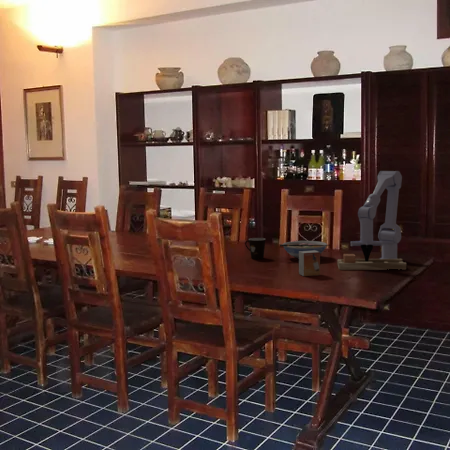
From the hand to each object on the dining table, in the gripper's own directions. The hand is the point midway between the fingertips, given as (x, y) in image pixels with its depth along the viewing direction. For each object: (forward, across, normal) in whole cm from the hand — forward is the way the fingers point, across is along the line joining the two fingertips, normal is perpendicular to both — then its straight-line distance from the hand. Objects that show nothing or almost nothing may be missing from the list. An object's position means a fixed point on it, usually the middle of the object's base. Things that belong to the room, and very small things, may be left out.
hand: (366, 261), depth 285 cm
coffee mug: (+3, -53, +27) cm, 60 cm away
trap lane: (+3, +2, 0) cm, 4 cm away
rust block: (+1, -8, 0) cm, 8 cm away
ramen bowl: (+3, -28, +25) cm, 38 cm away
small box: (+3, -27, -16) cm, 32 cm away
